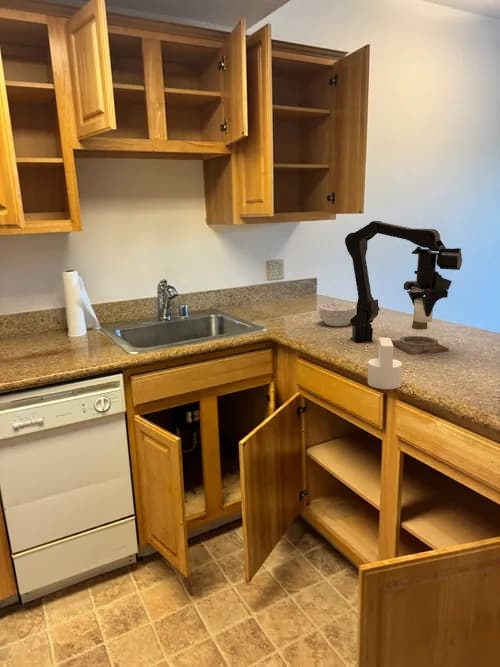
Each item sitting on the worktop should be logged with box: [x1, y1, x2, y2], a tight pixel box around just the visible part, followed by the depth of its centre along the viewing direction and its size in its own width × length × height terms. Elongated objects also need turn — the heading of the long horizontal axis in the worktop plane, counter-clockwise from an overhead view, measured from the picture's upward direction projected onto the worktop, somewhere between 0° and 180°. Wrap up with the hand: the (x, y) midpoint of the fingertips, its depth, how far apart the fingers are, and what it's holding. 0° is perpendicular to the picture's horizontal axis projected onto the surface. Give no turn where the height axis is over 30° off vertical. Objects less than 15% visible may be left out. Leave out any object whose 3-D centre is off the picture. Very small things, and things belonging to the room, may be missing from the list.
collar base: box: [391, 335, 450, 355], centre depth 165 cm, size 14×14×2 cm
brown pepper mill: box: [411, 319, 428, 330], centre depth 191 cm, size 6×6×11 cm
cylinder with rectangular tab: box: [367, 337, 403, 390], centre depth 131 cm, size 9×9×12 cm
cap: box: [412, 298, 434, 323], centre depth 160 cm, size 6×6×7 cm
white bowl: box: [318, 302, 357, 327], centre depth 202 cm, size 15×15×8 cm
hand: (422, 314), depth 160 cm, fingers closed on cap, 6 cm apart
